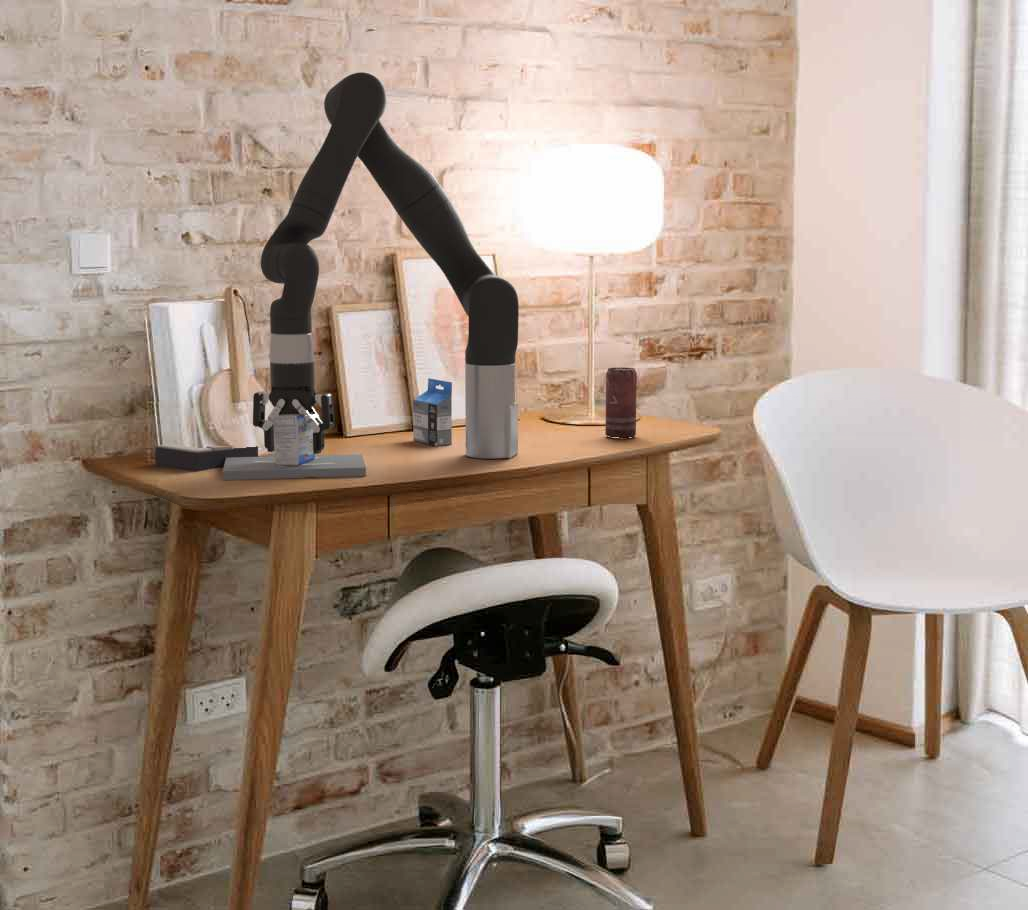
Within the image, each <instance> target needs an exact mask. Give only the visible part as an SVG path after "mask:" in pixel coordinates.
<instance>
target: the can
mask: <svg viewBox="0 0 1028 910" xmlns="http://www.w3.org/2000/svg"><path fill="white" fill-rule="evenodd" d="M637 380H638V374H637V371H636V369H635V368H633V367H609V368H607V371H606V373H605V436H606V435H607V436H610V437H619V438H629V437H634V436H635V437H636V435H637V388H638V387H637V383H638V382H637ZM607 436H606V437H607ZM635 437H634V438H635Z"/></svg>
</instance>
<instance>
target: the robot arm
mask: <svg viewBox="0 0 1028 910" xmlns="http://www.w3.org/2000/svg"><path fill="white" fill-rule="evenodd" d="M385 89H386V88H385V87H384V85H383V83H382V82H381V81H380V80H379V79H378V78H377V77H376V76H374V75H372V74H371V73H368V72H363V71H360V72H355V73H351V74H349V75H347V76H345V77H344V78H342V79H341V80H340V81H339V82H337V83H335V85H333V87H330V89H329V90H328V92H327V93H326V95H325V97H324V105H323V107H324V113H325V116H326V119H327V120H328V122H329V124H330V128H329V130H328V133H327V134H326V138H325V139H324V141H323V143H322V146H320V147H321V148H320V149H319V151H318V153H317V154H316V156H315V157H314V160H313V161H312V163H311V164H310V166H309V167H308V169H307V171H306V173H305V174H304V176H303V178H302V179H301V182H300V184H299V185H298V188H297V191H296V192H295V194H294V198H293V200H292V203H291V204H290V207H289V209H288V212H287V214H286V216H285V217H284V218H283V220H282V221H280V223H279V224H278V225H277V228H276V229H275V230H274V231H273V233H272V235H270V237H269V239H268V240H267V242H266V243H265V245H264V248H263V250H262V253H261V256H260V268H261V273H262V275H263V276H264V277H265V279H267V281H270V282H271V283H275V284H281V285H283V288H282V289H283V290H282V294H281V297H280V298H277V299H275V300H273V301H272V302H271V304H270V308H269V309H270V310H269V311H270V312H269V322H270V340H269V354H268V358H269V374H270V375H269V377H270V392H265V391H263V390H262V391H257V392H255V393H253V398H252V399H253V400H252V402H253V403H252V404H253V405H252V408H253V409H252V425H253V426H254V427H258V428H260V429H262V431H263V437H264V438H263V439H264V441H263V442H264V445H263V446H264V448H265V449H266V451H267V452H268V453H273V452H274V453H275V451H274V425H273V417H275V416H278V415H281V414H301V416H302V417H303V418H304V420H305V421H306V422H307V423H308V424H309V425H310V426H311V428H312V429H313V430H314V433H313V453H314V454H315V455H319V454H320V453H322V451H323V450H325V449H324V448H325V431H326V430H329V429H331V428H334V427H335V425H336V424H335V423H336V422H335V411H334V398H333V394H332V393H331V392H328V393H325V394H317V393H316V391H315V386H316V385H315V349H314V341H313V334H312V332H313V326H312V325H313V323H312V320H313V319H312V307H313V303H314V300H315V294H316V291H317V285H318V281H319V277H320V275H319V274H320V265H319V264H320V262H319V258H318V256H317V254H316V251H315V250H314V248H313V247H312V246H310V245H309V243H310V242H311V241H312V240H315V239H318V238H320V237H321V236H323V235H324V233H325V232H326V230H327V228H328V225H329V222H330V221H331V218H332V216H333V213H334V212H335V208H336V205H337V204H338V201H339V198H340V197H341V194H342V191H343V189H344V187H345V184H346V181H347V179H348V178H349V175H350V173H351V171H352V169H353V168H352V167H353V166H354V164H355V162H356V160H357V158H358V159H359V160H360V161H361V162H362V163H363V165H364V166H365V167H366V169H367V170H368V172H369V173H370V175H371V176H372V178H373V179H374V181H375V182H376V183H377V185H378V187H379V188H380V189H381V191H382V193H383V194H384V195H385V197H386V199H388V201H389V202H390V203H389V204H391V206H392V207H393V209H394V211H395V212H396V213H397V215H398V217H400V219H401V220H402V222H403V224H404V225H405V226H406V228H407V229H408V230H409V232H410V233H411V234H412V236H414V238H415V240H416V241H417V243H419V245H420V246H421V247H422V248H423V249H424V251H425V253H427V255H428V256H429V257H430V258H431V259H432V261H434V262H435V264H436V265H437V266H438V268H439V269H440V270H441V271H442V273H443V274H444V276H445V278H446V280H447V281H448V284H449V285H450V286H451V288H452V290H453V291H454V292H453V293H455V295H456V297H457V300H458V301H459V303H460V306H462V308H463V310H464V313H465V314H466V315H467V316H468V333H467V334H468V335H467V336H468V338H467V343H466V348H465V351H464V352H465V354H464V361H465V362H464V363H465V364H464V365H465V367H464V368H465V370H464V371H465V374H464V375H465V379H464V380H465V382H464V383H465V389H464V390H465V394H464V395H465V396H464V397H465V400H464V401H465V403H464V404H465V455H466V456H467V457H469V458H475V459H511V458H513V457H514V456H515V455H517V454H519V404H518V402H516V354H517V353H516V352H517V348H518V345H519V343H518V342H519V319H520V318H519V317H520V316H519V313H520V312H519V311H520V309H519V306H520V305H519V297H518V293H517V291H516V289H515V287H514V285H513V284H512V283H511V282H510V281H509V280H507V279H505V278H504V277H501V276H497V275H496V274H495V273H494V271H493V270H492V269H491V268H490V267H489V265H488V264H487V263H486V262H485V261H484V260H483V258H482V257H481V256H480V254H479V253H478V252H477V250H476V249H475V246H474V245H473V243H472V242H471V240H470V238H469V235H468V233H467V231H466V229H465V226H464V223H463V221H462V219H461V217H460V215H459V213H458V211H457V209H456V207H455V205H454V203H453V202H452V200H451V199H450V197H449V195H448V194H447V192H446V191H445V190H444V189H443V187H442V185H441V184H440V183H439V181H438V180H437V178H436V177H435V176H434V175H433V174H432V172H430V171H429V170H428V169H427V168H426V167H425V166H424V165H423V164H421V163H420V162H418V161H417V160H416V159H415V158H414V157H412V156H411V155H410V154H408V153H407V152H406V151H405V150H404V149H402V148H401V147H400V146H399V145H398V144H397V143H396V141H394V139H393V138H392V137H391V135H390V134H389V132H388V131H387V130H386V128H385V126H384V124H383V123H382V122H381V120H380V119H381V118H382V116H383V115H384V113H385V110H386V108H387V100H388V99H387V97H388V96H387V91H386V90H385ZM269 402H270V404H272V406H273V409H272V410H271V412H270V413H269V415H268V417H267V419H266V405H267V404H268V403H269ZM316 403H318V406H319V407H320V408H321V416H322V417H321V418H322V420H321V418H320V415H319V414H318V413H317V411H316V409H315V408H314V406H315V404H316Z"/></svg>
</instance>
